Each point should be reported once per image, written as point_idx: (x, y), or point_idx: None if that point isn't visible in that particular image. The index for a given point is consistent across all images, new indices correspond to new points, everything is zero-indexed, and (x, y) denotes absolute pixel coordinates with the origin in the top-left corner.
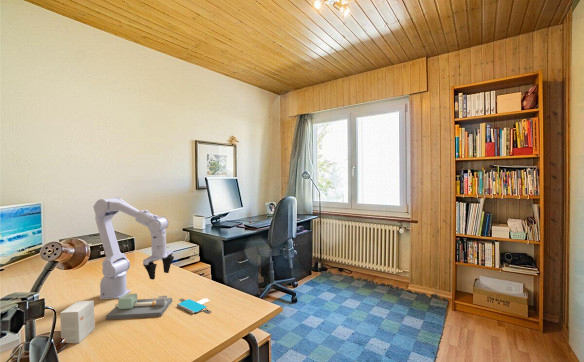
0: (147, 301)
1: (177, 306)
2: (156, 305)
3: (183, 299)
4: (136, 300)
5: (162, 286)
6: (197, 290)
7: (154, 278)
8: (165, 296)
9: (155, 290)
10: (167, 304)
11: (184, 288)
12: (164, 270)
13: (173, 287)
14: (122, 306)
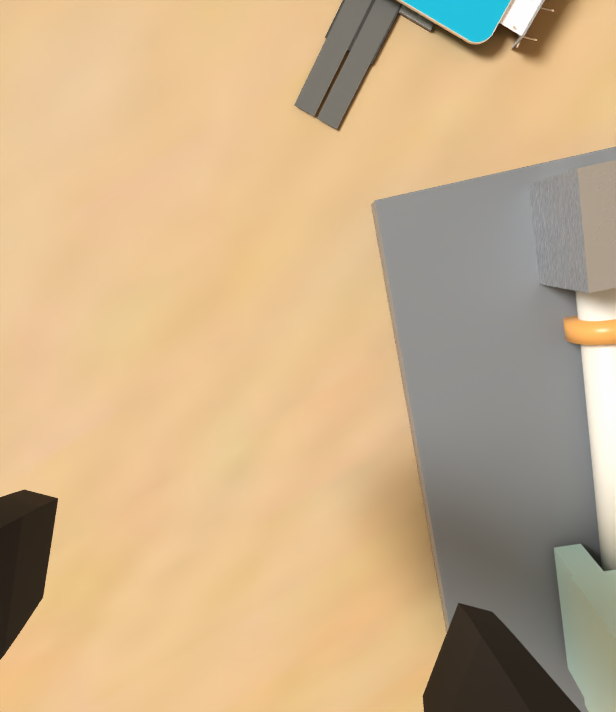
0: (490, 462)
1: (519, 37)
2: None
3: (320, 67)
4: (590, 571)
5: None
6: (32, 8)
7: (467, 612)
8: (607, 176)
9: (135, 560)
10: (559, 159)
11: (16, 241)
12: (9, 629)
13: (22, 401)
14: None
